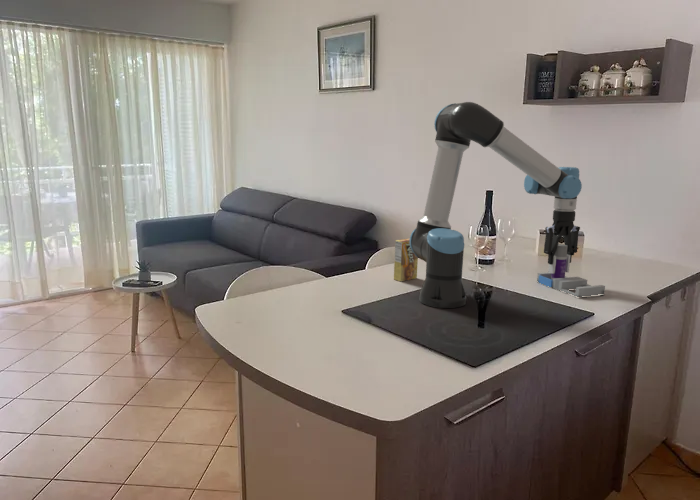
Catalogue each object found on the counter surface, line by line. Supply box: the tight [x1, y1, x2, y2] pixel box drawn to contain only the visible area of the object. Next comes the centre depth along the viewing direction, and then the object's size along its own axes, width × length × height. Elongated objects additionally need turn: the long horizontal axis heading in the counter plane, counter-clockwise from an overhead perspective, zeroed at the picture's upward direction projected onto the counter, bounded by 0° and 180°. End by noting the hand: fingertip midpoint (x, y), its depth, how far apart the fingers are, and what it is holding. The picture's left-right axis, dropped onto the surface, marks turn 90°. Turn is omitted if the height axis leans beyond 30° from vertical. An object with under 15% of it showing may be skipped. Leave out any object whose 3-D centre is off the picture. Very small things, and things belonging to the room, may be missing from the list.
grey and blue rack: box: [536, 271, 606, 297], centre depth 193 cm, size 12×22×4 cm, turn 18°
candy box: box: [393, 237, 419, 282], centre depth 202 cm, size 9×4×15 cm, turn 129°
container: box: [551, 243, 568, 280], centre depth 197 cm, size 5×5×15 cm
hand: (558, 271), depth 198 cm, fingers open, 6 cm apart
